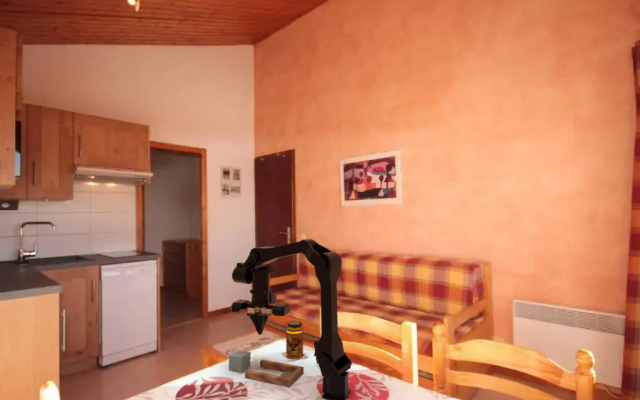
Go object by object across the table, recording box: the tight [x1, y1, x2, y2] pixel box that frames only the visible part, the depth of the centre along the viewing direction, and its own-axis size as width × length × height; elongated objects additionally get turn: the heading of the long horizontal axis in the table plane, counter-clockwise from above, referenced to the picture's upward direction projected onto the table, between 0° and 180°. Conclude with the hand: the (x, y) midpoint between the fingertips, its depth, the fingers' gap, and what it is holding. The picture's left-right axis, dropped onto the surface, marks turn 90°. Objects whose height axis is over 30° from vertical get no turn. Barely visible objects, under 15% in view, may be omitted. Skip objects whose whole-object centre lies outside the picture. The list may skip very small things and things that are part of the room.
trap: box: [279, 371, 292, 377], centre depth 109 cm, size 4×6×1 cm, turn 157°
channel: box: [244, 358, 305, 388], centre depth 111 cm, size 16×10×2 cm, turn 67°
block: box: [228, 349, 251, 374], centre depth 116 cm, size 5×5×5 cm
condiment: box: [280, 320, 309, 362], centre depth 127 cm, size 7×8×12 cm
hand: (260, 334), depth 114 cm, fingers closed
